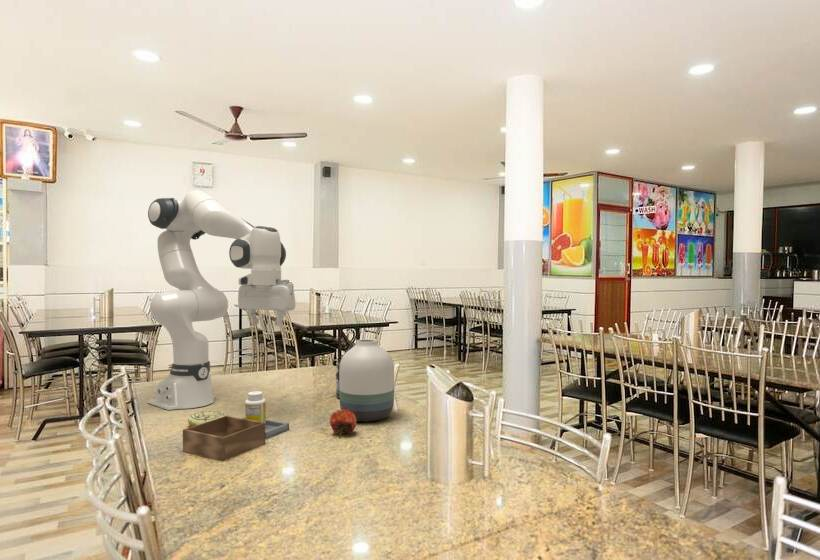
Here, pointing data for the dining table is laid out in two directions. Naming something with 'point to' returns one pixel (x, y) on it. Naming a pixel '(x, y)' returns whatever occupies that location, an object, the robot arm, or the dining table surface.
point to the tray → (274, 428)
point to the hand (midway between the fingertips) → (266, 324)
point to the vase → (367, 381)
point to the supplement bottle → (255, 407)
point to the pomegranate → (343, 421)
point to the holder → (223, 437)
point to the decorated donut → (204, 417)
